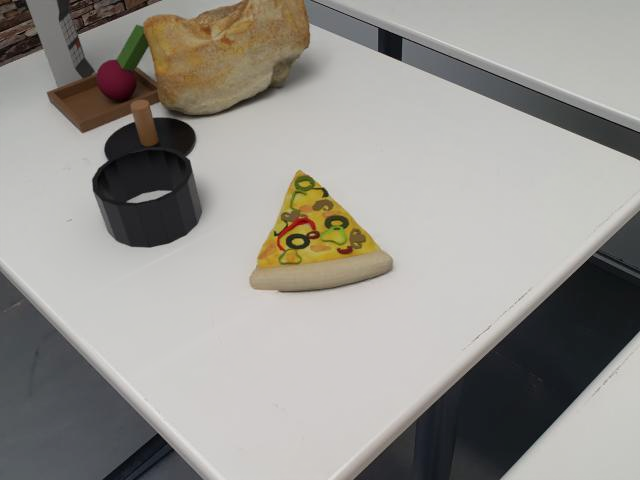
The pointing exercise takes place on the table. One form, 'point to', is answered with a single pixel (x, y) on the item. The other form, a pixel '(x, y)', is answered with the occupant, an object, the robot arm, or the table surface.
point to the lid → (150, 133)
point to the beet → (123, 68)
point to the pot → (154, 215)
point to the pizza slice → (315, 244)
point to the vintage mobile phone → (60, 40)
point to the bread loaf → (225, 53)
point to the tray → (99, 101)
